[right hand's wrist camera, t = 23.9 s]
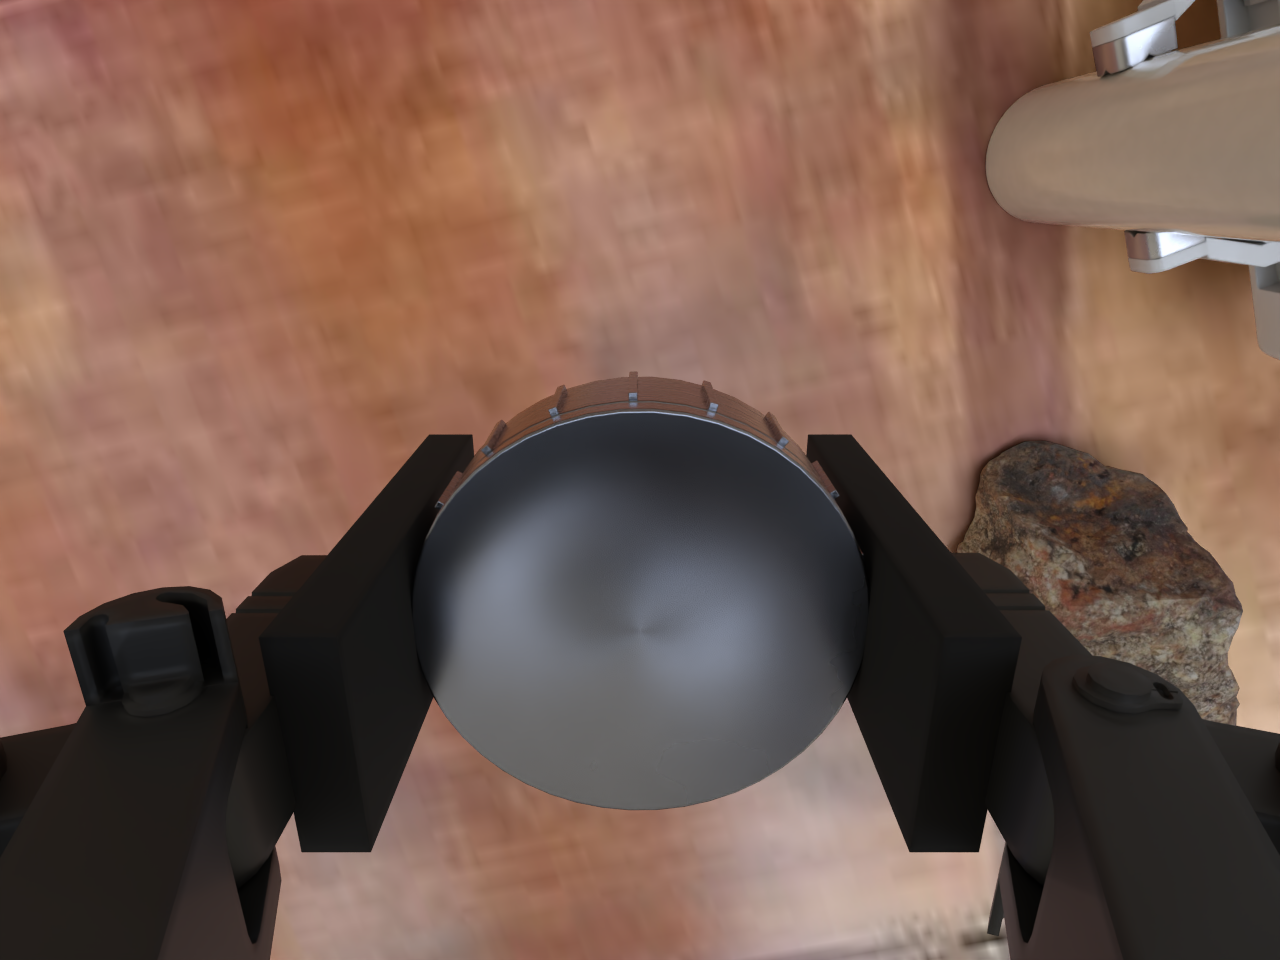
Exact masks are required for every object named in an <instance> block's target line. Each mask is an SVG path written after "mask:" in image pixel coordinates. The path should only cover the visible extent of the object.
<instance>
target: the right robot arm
mask: <svg viewBox="0 0 1280 960" xmlns="http://www.w3.org/2000/svg"><path fill="white" fill-rule="evenodd" d="M806 456H807V458H808V459H809V460H810V462H811V463H813V462H815V461H818V463H819V464H820V466H821V467H822V469H823V470H824V472H825V474H826V475H827V477H828V478H829V480H830V481H831V483H832V484H833V486H834V488H835V489H836V491H837V492H838V494H839V497H837V498H836V499H834V500H835V501H836V503H837V504H838V506H839V508H840V509H841V511H842V513H843V515H844V516H845V518H846V520H847V522H848V524H849V526H850V527H851V529H852V531H853V533H854V535H855V537H856V540H857V543H858V545H859V547H860V549H861V550H862V552H863V554H864V563H865V568H866V573H867V578H868V583H869V589H870V604H869V614H868V623H867V632H866V640H865V648H864V655H863V661H862V665H861V668H860V670H859V673H858V675H857V677H856V680H855V682H854V685H853V687H852V689H851V691H850V693H849V695H848V696H847V698H848V700H849V703H850V705H851V708H852V710H853V713H854V715H855V718H856V720H857V723H858V725H859V728H860V730H861V733H862V735H863V738H864V740H865V743H866V745H867V748H868V750H869V753H870V755H871V757H872V760H873V762H874V765H875V767H876V770H877V772H878V775H879V777H880V780H881V782H882V785H883V787H884V790H885V792H886V795H887V797H888V800H889V802H890V805H891V807H892V810H893V812H894V815H895V817H896V819H897V822H898V824H899V827H900V829H901V832H902V834H903V837H904V839H905V842H906V844H907V847H908V849H909V852H979V849H980V844H981V839H982V834H983V829H984V824H985V819H986V814H987V809H988V811H989V812H990V814H991V816H992V818H993V820H994V821H995V823H996V825H997V827H998V829H999V830H1000V832H1001V834H1002V836H1003V838H1004V839H1005V841H1006V843H1005V847H1004V852H1003V856H1002V861H1001V866H1000V870H999V875H998V880H997V884H996V889H995V894H994V898H993V903H992V907H991V912H990V917H989V924H988V931H987V933H988V934H992V935H996V936H999V932H1000V927H1001V923H1002V919H1003V918H1005V925H1006V932H1007V939H1008V946H1009V953H1010V960H1280V734H1277V733H1272V732H1267V731H1261V730H1256V729H1251V728H1245V727H1240V726H1235V725H1229V724H1224V723H1219V722H1213V721H1209V720H1205V719H1202V718H1201V716H1200V715H1199V713H1198V711H1197V709H1196V708H1195V706H1194V704H1193V703H1192V702H1191V701H1190V700H1189V699H1188V698H1187V697H1186V696H1185V694H1184V693H1183V692H1182V691H1181V690H1180V689H1179V688H1177V687H1176V686H1174V685H1173V684H1171V683H1170V682H1168V681H1166V680H1165V679H1163V678H1162V677H1160V676H1159V675H1157V674H1155V673H1152V672H1150V671H1148V670H1145V669H1143V668H1140V667H1138V666H1135V665H1133V664H1131V663H1128V662H1123V661H1119V660H1115V659H1111V658H1106V657H1102V656H1093V655H1092V654H1091V653H1090V652H1089V651H1088V650H1087V649H1086V648H1085V647H1084V646H1083V645H1082V644H1081V643H1080V642H1079V641H1078V640H1077V639H1076V638H1075V637H1074V636H1073V635H1072V634H1071V633H1070V631H1069V630H1068V629H1067V628H1066V627H1065V626H1064V625H1063V624H1062V623H1061V622H1060V621H1059V620H1058V619H1057V618H1056V617H1055V616H1054V615H1053V614H1052V613H1051V612H1050V611H1049V610H1045V605H1044V604H1043V603H1042V602H1041V601H1040V600H1039V599H1038V598H1037V597H1036V596H1035V595H1034V594H1033V593H1029V589H1028V588H1027V587H1026V586H1025V585H1024V584H1023V583H1022V581H1021V580H1020V579H1019V578H1018V577H1017V576H1016V575H1015V574H1014V573H1013V572H1012V571H1011V570H1010V569H1008V568H1006V567H1004V566H1002V565H1001V564H999V563H997V562H995V561H993V560H992V559H990V558H988V557H986V556H984V555H982V554H981V553H951V552H950V551H949V550H948V549H947V548H946V546H945V545H944V544H943V543H942V542H941V541H940V539H939V538H938V537H937V536H936V535H935V533H934V532H933V531H932V530H931V529H930V527H929V526H928V525H927V524H926V523H925V522H924V520H923V519H922V518H921V517H920V516H919V514H918V513H917V512H916V511H915V510H914V508H913V507H912V506H911V505H910V504H909V503H908V501H907V500H906V499H905V498H904V497H903V495H902V494H901V493H900V492H899V491H898V490H897V488H896V487H895V486H894V485H893V484H892V482H891V481H890V480H889V479H888V478H887V476H886V475H885V474H884V473H883V472H882V471H881V469H880V468H879V467H878V466H877V465H876V463H875V462H874V461H873V460H872V459H871V458H870V456H869V455H868V454H867V453H866V452H865V450H864V449H863V448H862V447H861V446H860V444H859V443H858V442H857V441H856V440H855V439H854V437H853V436H852V435H808V443H807V455H806ZM473 458H474V449H473V437H472V435H429V436H428V437H427V438H426V439H425V440H424V441H423V443H422V444H421V445H420V446H419V447H418V449H417V450H416V451H415V452H414V453H413V455H412V456H411V457H410V458H409V459H408V460H407V462H406V463H405V464H404V465H403V466H402V468H401V469H400V470H399V471H398V472H397V474H396V475H395V476H394V477H393V478H392V479H391V481H390V482H389V483H388V484H387V485H386V487H385V488H384V489H383V490H382V491H381V493H380V494H379V495H378V496H377V497H376V498H375V500H374V501H373V502H372V503H371V504H370V506H369V507H368V508H367V509H366V510H365V511H364V513H363V514H362V515H361V516H360V517H359V519H358V520H357V521H356V522H355V523H354V525H353V526H352V527H351V528H350V529H349V530H348V532H347V533H346V534H345V535H344V536H343V538H342V539H341V540H340V541H339V542H338V544H337V545H336V546H335V547H334V548H333V549H332V551H331V552H330V553H329V554H328V555H302V556H300V557H298V558H296V559H294V560H292V561H291V562H289V563H287V564H285V565H283V566H282V567H280V568H278V569H276V570H274V571H273V572H271V573H270V574H269V575H268V576H267V577H266V578H265V579H264V580H263V581H262V582H261V583H260V584H259V585H258V586H257V588H256V589H255V590H254V591H253V592H252V596H248V597H247V598H246V599H245V600H244V601H243V602H242V603H241V604H240V605H239V606H238V607H237V609H236V613H232V614H231V615H230V616H229V617H228V618H227V619H226V616H225V611H224V607H223V602H222V598H221V597H220V596H218V595H217V594H215V593H214V592H212V591H211V590H208V589H202V588H196V587H191V586H185V587H164V588H158V589H153V590H148V591H143V592H138V593H133V594H130V595H127V596H124V597H121V598H119V599H116V600H113V601H110V602H107V603H104V604H102V605H100V606H98V607H97V608H95V609H93V610H91V611H89V612H87V613H85V614H83V615H82V616H80V617H78V618H77V619H76V620H75V621H74V622H73V623H72V624H71V625H70V626H69V627H68V628H66V629H65V630H64V634H65V638H66V641H67V644H68V648H69V651H70V654H71V658H72V661H73V664H74V667H75V671H76V674H77V677H78V681H79V684H80V687H81V691H82V694H83V697H84V700H85V704H86V707H85V709H84V711H83V713H82V714H81V716H80V718H79V720H78V721H77V723H75V724H71V725H65V726H60V727H55V728H50V729H44V730H39V731H34V732H28V733H23V734H18V735H13V736H7V737H2V738H0V960H270V955H271V948H272V941H273V934H274V927H275V920H276V913H277V906H278V900H279V893H280V886H281V874H280V867H279V861H278V856H277V852H276V847H275V845H276V843H277V841H278V839H279V837H280V836H281V834H282V832H283V830H284V828H285V827H286V825H287V823H288V821H289V819H290V818H291V816H292V814H293V812H294V816H295V821H296V826H297V831H298V836H299V841H300V846H301V851H302V852H371V850H372V848H373V846H374V843H375V841H376V838H377V836H378V833H379V831H380V828H381V826H382V823H383V821H384V818H385V816H386V813H387V811H388V808H389V806H390V803H391V801H392V798H393V796H394V793H395V791H396V788H397V786H398V783H399V781H400V779H401V776H402V774H403V771H404V769H405V766H406V764H407V761H408V759H409V756H410V754H411V751H412V749H413V746H414V744H415V741H416V739H417V736H418V734H419V731H420V729H421V726H422V724H423V721H424V719H425V717H426V714H427V712H428V709H429V707H430V704H431V702H432V699H433V695H432V693H431V691H430V689H429V687H428V684H427V682H426V680H425V678H424V676H423V673H422V671H421V668H420V664H419V661H418V657H417V651H416V644H415V635H414V627H413V618H412V608H411V590H412V584H413V578H414V572H415V566H416V563H417V560H418V557H419V554H420V551H421V548H422V545H423V542H424V539H425V537H426V535H427V533H428V532H429V530H430V528H431V526H432V524H433V522H434V520H435V518H436V516H437V514H438V512H439V511H440V510H438V509H437V508H435V505H436V504H437V502H438V500H439V499H440V497H441V495H442V494H443V492H444V491H445V489H446V488H447V486H448V485H449V483H450V481H451V480H452V478H453V477H454V475H455V474H456V472H457V471H459V472H461V473H463V472H464V470H465V469H466V467H467V466H468V465H469V463H470V462H471V460H472V459H473Z"/></svg>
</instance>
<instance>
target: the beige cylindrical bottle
mask: <svg viewBox="0 0 1280 960" xmlns="http://www.w3.org/2000/svg"><path fill="white" fill-rule="evenodd" d="M986 175H987V181H988V184H989V187H990V190H991V192H992V194H993V196H994V198H995V200H996V201H997V202H998V204H999V205H1000V206H1001V207H1002V208H1003V209H1004V210H1005V211H1006V212H1008V213H1009V214H1010V215H1012V216H1014V217H1016V218H1017V219H1020V220H1023V221H1027V222H1031V223H1042V224H1055V225H1067V226H1080V227H1092V228H1105V229H1117V230H1129V231H1142V232H1154V233H1167V234H1179V235H1192V236H1204V237H1217V238H1229V239H1241V240H1254V241H1266V242H1279V243H1280V23H1279V24H1275V25H1271V26H1267V27H1263V28H1259V29H1256V30H1252V31H1248V32H1244V33H1240V34H1237V35H1233V36H1229V37H1225V38H1221V39H1218V40H1214V41H1210V42H1206V43H1202V44H1198V45H1195V46H1191V47H1187V48H1183V49H1179V50H1176V51H1172V52H1168V53H1164V54H1160V55H1157V56H1154V57H1150V58H1146V59H1145V60H1144V61H1143V62H1141V63H1139V64H1137V65H1135V66H1133V67H1130V68H1127V69H1125V70H1122V71H1119V72H1116V73H1112V74H1110V73H1109V74H1106V75H1104V76H1100V77H1097V71H1095V72H1092V73H1088V74H1084V75H1080V76H1076V77H1073V78H1069V79H1065V80H1061V81H1057V82H1053V83H1050V84H1046V85H1043V86H1040V87H1038V88H1035V89H1033V90H1032V91H1030V92H1028V93H1026V94H1025V95H1023V96H1022V97H1020V98H1019V99H1018V100H1017V101H1016V102H1015V103H1013V104H1012V105H1011V106H1010V108H1009V109H1008V110H1007V111H1006V112H1005V113H1004V115H1003V116H1002V117H1001V119H1000V120H999V122H998V124H997V125H996V127H995V129H994V131H993V134H992V136H991V139H990V142H989V145H988V149H987V154H986Z"/></svg>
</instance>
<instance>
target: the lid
mask: <svg viewBox="0 0 1280 960" xmlns="http://www.w3.org/2000/svg"><path fill="white" fill-rule="evenodd" d="M837 497H839V494H838V492H837V491H836V489H835V488H834V486H833V484H832V483H831V481H830V480H829V478H828V477H827V475H826V474H825V472H824V470H823V469H822V467H821V466H820V464H819V463H818V461H815V462H813V463H811V462H810V460H809V459H808V458H807V456H806V455H805V454H804V452H803V451H802V450H801V448H800V447H799V446H798V445H797V444H796V443H795V442H794V441H793V440H792V439H791V438H790V437H789V436H788V435H787V434H786V433H785V432H784V431H783V430H782V428H781V426H780V425H779V423H778V421H777V420H776V418H775V416H774V415H773V414H771V413H770V412H768V413H767V414H766V416H764V415H763V414H762V413H760V412H759V411H758V410H756V409H754V408H752V407H750V406H749V405H747V404H745V403H743V402H742V401H740V400H738V399H736V398H734V397H732V396H729V395H727V394H724V393H722V392H719V391H717V390H714V389H713V388H712V385H711V383H710V382H707V381H703V383H702V385H698V384H694V383H690V382H686V381H682V380H675V379H666V378H658V377H638V372H630V374H629V377H621V378H614V379H607V380H600V381H594V382H590V383H587V384H583V385H580V386H576V387H572V388H569V389H566V387H565V385H562V386H559V387H557V390H556V392H555V394H554V395H552V396H550V397H547V398H545V399H543V400H541V401H539V402H537V403H536V404H534V405H532V406H531V407H529V408H527V409H526V410H524V411H522V412H520V413H519V414H517V415H516V416H515V417H514V418H512V419H511V420H510V421H509V422H507V423H505V422H504V421H503V420H500V421H499V422H498V423H497V424H496V426H495V427H494V429H493V431H492V432H491V434H490V436H489V437H488V439H487V441H486V442H485V444H484V445H483V446H482V447H481V448H480V449H479V450H478V452H477V453H476V455H475V456H474V458H473V459H472V460H471V462H470V463H469V465H468V466H467V467H466V469H465V470H464V472H463V473H461V472H459V471H457V472H456V474H455V475H454V477H453V478H452V480H451V481H450V483H449V485H448V486H447V488H446V489H445V491H444V492H443V494H442V495H441V497H440V499H439V500H438V502H437V504H436V505H435V508H437V509H438V510H440V511H439V512H438V514H437V516H436V518H435V520H434V522H433V524H432V526H431V528H430V530H429V532H428V533H427V535H426V537H425V539H424V542H423V545H422V548H421V551H420V554H419V557H418V560H417V563H416V566H415V572H414V578H413V584H412V590H411V608H412V618H413V627H414V635H415V644H416V651H417V657H418V661H419V664H420V668H421V671H422V673H423V676H424V678H425V680H426V682H427V684H428V687H429V689H430V691H431V693H432V695H433V697H434V699H435V700H436V702H437V703H438V705H439V707H440V708H441V710H442V711H443V713H444V714H445V716H446V717H447V719H448V720H449V721H450V722H451V724H452V725H453V726H454V727H455V728H456V730H457V731H458V732H459V733H460V734H461V736H462V737H463V738H464V739H465V740H466V741H467V742H468V743H470V744H471V745H472V746H473V747H474V748H475V749H476V750H477V751H478V752H479V753H480V754H481V755H482V756H484V757H485V758H487V759H488V760H489V761H491V762H492V763H493V764H495V765H496V766H497V767H499V768H500V769H501V770H503V771H505V772H506V773H508V774H510V775H512V776H513V777H515V778H517V779H519V780H520V781H522V782H524V783H526V784H528V785H530V786H532V787H535V788H537V789H539V790H542V791H544V792H546V793H548V794H551V795H554V796H557V797H561V798H564V799H567V800H570V801H573V802H577V803H582V804H587V805H592V806H597V807H602V808H612V809H623V810H660V809H668V808H677V807H685V806H689V805H694V804H698V803H703V802H708V801H711V800H714V799H717V798H720V797H723V796H726V795H729V794H732V793H735V792H737V791H740V790H742V789H744V788H746V787H748V786H751V785H753V784H755V783H757V782H759V781H761V780H763V779H764V778H766V777H768V776H769V775H771V774H773V773H774V772H776V771H778V770H779V769H781V768H783V767H784V766H785V765H786V764H788V763H789V762H790V761H792V760H793V759H794V758H795V757H797V756H798V755H799V754H801V753H802V752H803V751H804V750H805V749H806V748H807V747H808V746H809V745H810V744H811V743H812V742H813V741H814V740H815V739H816V738H817V737H818V736H819V735H820V734H821V733H822V732H823V731H824V730H825V728H826V727H827V726H828V725H829V723H830V722H831V721H832V720H833V718H834V717H835V716H836V714H837V713H838V712H839V710H840V708H841V707H842V705H843V703H844V701H845V700H846V698H847V696H848V695H849V693H850V691H851V689H852V687H853V685H854V682H855V680H856V677H857V675H858V673H859V670H860V668H861V665H862V661H863V655H864V648H865V640H866V632H867V623H868V614H869V604H870V589H869V583H868V578H867V573H866V568H865V563H864V554H863V552H862V550H861V549H860V547H859V545H858V543H857V540H856V537H855V535H854V533H853V531H852V529H851V527H850V526H849V524H848V522H847V520H846V518H845V516H844V515H843V513H842V511H841V509H840V508H839V506H838V504H837V503H836V501H835V500H834V499H836V498H837Z"/></svg>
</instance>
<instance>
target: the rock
mask: <svg viewBox="0 0 1280 960" xmlns="http://www.w3.org/2000/svg"><path fill="white" fill-rule="evenodd" d="M975 500H976V511H975V517H974V519H973V521H972V523H971V525H970V527H969V528H968V530H967V532H966V534H965V537H964V541H963V542H961V543H960V544H958V548H957V553H981V554H982V555H984V556H986V557H988V558H990V559H992V560H993V561H995V562H997V563H999V564H1001V565H1002V566H1004V567H1006V568H1008V569H1010V570H1011V571H1012V572H1013V573H1014V574H1015V575H1016V576H1017V577H1018V578H1019V579H1020V580H1021V581H1022V583H1023V584H1024V585H1025V586H1026V587H1027V588H1028V589H1029V593H1033V594H1034V595H1035V596H1036V597H1037V598H1038V599H1039V600H1040V601H1041V602H1042V603H1043V604H1044V605H1045V610H1049V611H1050V612H1051V613H1052V614H1053V615H1054V616H1055V617H1056V618H1057V619H1058V620H1059V621H1060V622H1061V623H1062V624H1063V625H1064V626H1065V627H1066V628H1067V629H1068V630H1069V631H1070V633H1071V634H1072V635H1073V636H1074V637H1075V638H1076V639H1077V640H1078V641H1079V642H1080V643H1081V644H1082V645H1083V646H1084V647H1085V648H1086V649H1087V650H1088V651H1089V652H1090V653H1091V654H1092V655H1093V656H1102V657H1106V658H1111V659H1115V660H1119V661H1123V662H1128V663H1131V664H1133V665H1135V666H1138V667H1140V668H1143V669H1145V670H1148V671H1150V672H1152V673H1155V674H1157V675H1159V676H1160V677H1162V678H1163V679H1165V680H1166V681H1168V682H1170V683H1171V684H1173V685H1174V686H1176V687H1177V688H1179V689H1180V690H1181V691H1182V692H1183V693H1184V694H1185V696H1186V697H1187V698H1188V699H1189V700H1190V701H1191V702H1192V703H1193V704H1194V706H1195V708H1196V709H1197V711H1198V713H1199V715H1200V716H1201V718H1202V719H1205V720H1209V721H1213V722H1219V723H1224V724H1229V725H1235V726H1236V715H1237V708H1238V706H1239V702H1238V700H1237V698H1236V696H1237V694H1238V691H1239V686H1238V684H1237V682H1236V680H1235V677H1234V675H1233V673H1232V671H1231V669H1230V668H1229V666H1228V654H1227V653H1228V650H1229V647H1230V644H1231V642H1232V639H1233V636H1234V634H1235V632H1236V631H1237V629H1238V626H1239V622H1240V619H1241V616H1242V612H1243V610H1242V606H1241V603H1240V601H1239V600H1238V598H1237V596H1236V594H1235V590H1234V586H1233V582H1232V581H1231V580H1230V579H1229V578H1228V577H1227V575H1226V574H1225V573H1224V571H1223V570H1222V569H1221V567H1220V566H1219V564H1218V563H1217V561H1216V560H1215V559H1214V558H1213V556H1212V555H1211V554H1210V553H1209V552H1208V551H1207V550H1205V549H1204V548H1202V547H1201V546H1200V545H1199V544H1198V543H1197V542H1195V540H1194V539H1193V538H1192V536H1191V535H1190V534H1189V533H1188V532H1187V527H1186V525H1185V524H1184V523H1183V521H1182V520H1181V519H1180V517H1179V515H1178V512H1177V510H1176V508H1175V506H1174V504H1173V503H1172V502H1171V500H1170V499H1169V497H1168V496H1167V494H1166V493H1165V492H1164V491H1163V490H1162V489H1161V488H1160V487H1159V486H1158V485H1156V484H1155V483H1154V482H1152V481H1151V480H1149V479H1148V478H1146V477H1145V476H1144V475H1143V474H1140V473H1135V472H1131V471H1126V470H1120V469H1117V468H1113V467H1110V466H1104V465H1103V464H1101V463H1100V462H1099V461H1097V460H1096V459H1095V458H1093V457H1092V456H1091V455H1089V454H1087V453H1084V452H1081V451H1078V450H1075V449H1072V448H1069V447H1065V446H1062V445H1059V444H1055V443H1051V442H1048V441H1026V442H1023V443H1021V444H1019V445H1016V446H1014V447H1012V448H1010V449H1008V450H1006V451H1005V452H1003V453H1001V454H1000V455H999V456H998V457H996V458H994V459H992V460H990V461H989V462H988V463H987V465H986V466H985V467H984V468H983V470H982V472H981V474H980V483H979V487H978V491H977V494H976V497H975Z"/></svg>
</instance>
